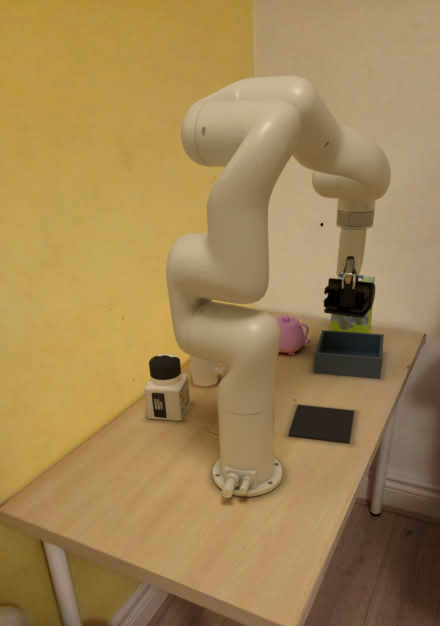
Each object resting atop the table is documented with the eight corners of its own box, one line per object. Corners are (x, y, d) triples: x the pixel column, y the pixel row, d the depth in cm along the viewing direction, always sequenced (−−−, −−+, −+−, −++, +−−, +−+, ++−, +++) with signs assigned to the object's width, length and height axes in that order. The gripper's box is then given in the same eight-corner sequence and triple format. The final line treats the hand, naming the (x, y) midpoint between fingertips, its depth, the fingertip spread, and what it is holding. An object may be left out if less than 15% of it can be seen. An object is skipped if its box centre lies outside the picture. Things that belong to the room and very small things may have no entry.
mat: (349, 443, 105) (349, 441, 105) (288, 436, 108) (288, 434, 108) (354, 412, 115) (354, 410, 115) (297, 406, 118) (297, 404, 118)
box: (328, 337, 150) (332, 276, 141) (333, 332, 153) (336, 272, 145) (367, 343, 146) (373, 280, 137) (370, 337, 149) (376, 276, 140)
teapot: (305, 360, 138) (307, 326, 134) (249, 354, 143) (248, 321, 138) (312, 343, 147) (314, 311, 142) (259, 338, 151) (259, 307, 147)
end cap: (373, 308, 122) (376, 279, 119) (365, 318, 117) (368, 288, 114) (331, 303, 126) (332, 274, 123) (321, 312, 121) (322, 283, 118)
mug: (186, 384, 129) (182, 337, 124) (200, 372, 134) (197, 327, 129) (222, 392, 125) (220, 345, 119) (236, 380, 130) (234, 334, 124)
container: (182, 421, 114) (177, 367, 108) (147, 419, 116) (140, 365, 110) (190, 403, 121) (186, 351, 115) (158, 401, 123) (152, 349, 116)
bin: (379, 378, 127) (382, 358, 125) (313, 372, 132) (314, 353, 129) (381, 353, 140) (383, 334, 137) (321, 348, 144) (321, 330, 141)
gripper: (340, 210, 120) (335, 286, 129) (332, 226, 106) (327, 311, 114) (375, 211, 118) (367, 288, 127) (371, 227, 104) (363, 313, 112)
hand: (348, 299), depth 120 cm, fingers closed on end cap, 8 cm apart
